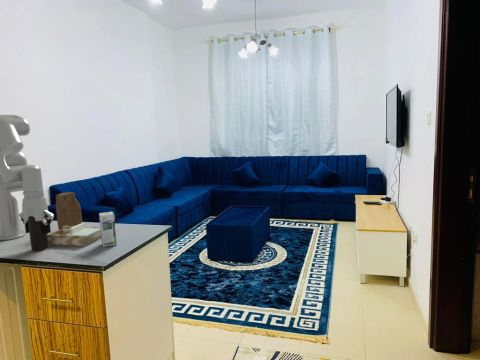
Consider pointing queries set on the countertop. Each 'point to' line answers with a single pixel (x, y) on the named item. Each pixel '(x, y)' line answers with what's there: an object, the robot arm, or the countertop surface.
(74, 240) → the puzzle board
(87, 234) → the lid
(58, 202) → the block
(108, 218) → the syrup box
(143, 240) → the countertop surface
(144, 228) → the countertop surface
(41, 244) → the vinegar
